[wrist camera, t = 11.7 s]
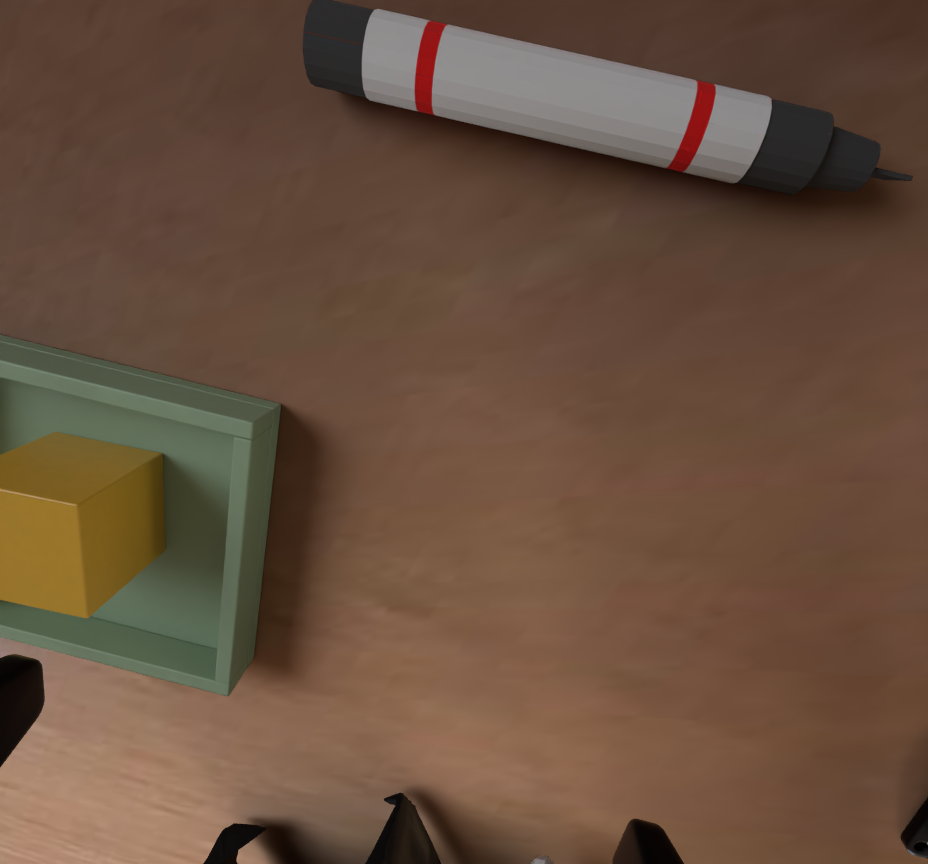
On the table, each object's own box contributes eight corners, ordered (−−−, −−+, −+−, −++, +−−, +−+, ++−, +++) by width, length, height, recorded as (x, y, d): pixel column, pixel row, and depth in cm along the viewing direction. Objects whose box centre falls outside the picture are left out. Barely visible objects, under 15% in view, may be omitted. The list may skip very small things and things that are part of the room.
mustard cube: (166, 550, 21) (87, 619, 17) (64, 529, 21) (-36, 593, 18) (163, 452, 20) (77, 505, 16) (54, 431, 20) (-56, 477, 16)
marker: (325, 94, 16) (298, 76, 14) (334, 12, 15) (307, -18, 13) (865, 218, 15) (911, 217, 14) (900, 140, 15) (954, 126, 13)
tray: (254, 657, 23) (228, 697, 21) (-6, 590, 23) (-55, 623, 22) (281, 403, 19) (253, 423, 17) (-31, 326, 20) (-94, 337, 18)
